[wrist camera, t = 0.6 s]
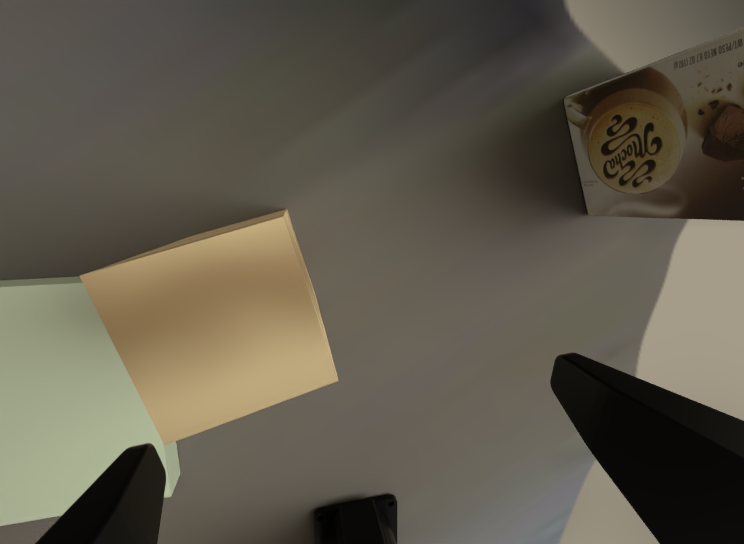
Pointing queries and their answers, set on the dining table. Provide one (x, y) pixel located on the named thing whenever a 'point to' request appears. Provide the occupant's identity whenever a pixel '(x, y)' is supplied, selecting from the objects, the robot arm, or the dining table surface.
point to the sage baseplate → (62, 400)
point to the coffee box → (665, 136)
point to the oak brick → (215, 324)
